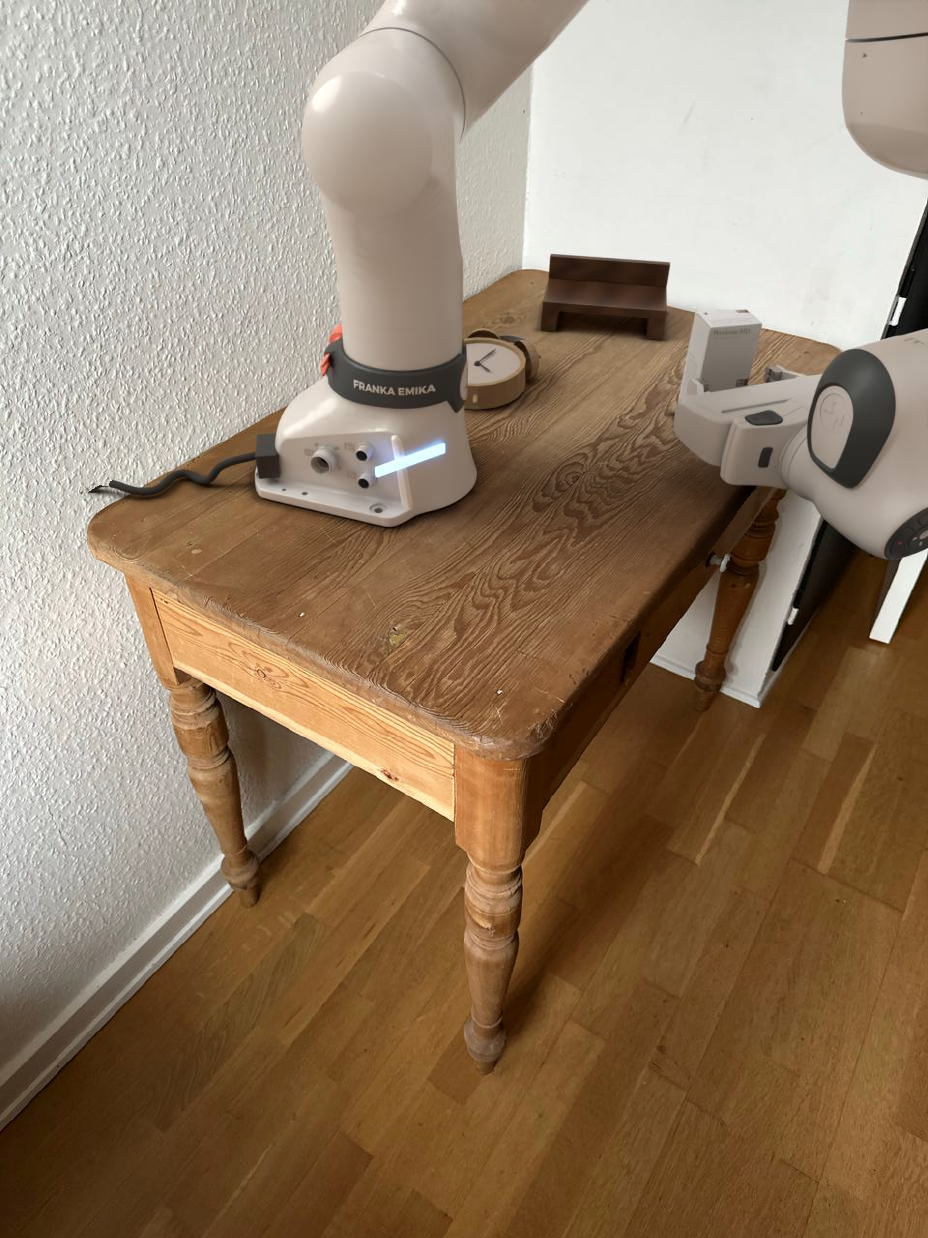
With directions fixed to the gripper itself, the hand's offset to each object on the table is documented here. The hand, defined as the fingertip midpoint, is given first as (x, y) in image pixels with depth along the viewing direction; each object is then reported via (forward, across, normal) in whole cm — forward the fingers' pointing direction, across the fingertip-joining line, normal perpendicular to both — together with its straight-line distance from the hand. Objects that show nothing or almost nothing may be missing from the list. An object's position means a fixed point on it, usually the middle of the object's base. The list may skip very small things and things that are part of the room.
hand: (732, 378), depth 96 cm
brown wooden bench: (+31, -1, +7) cm, 32 cm away
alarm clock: (+19, +20, +7) cm, 29 cm away
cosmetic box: (+3, 0, +7) cm, 7 cm away
